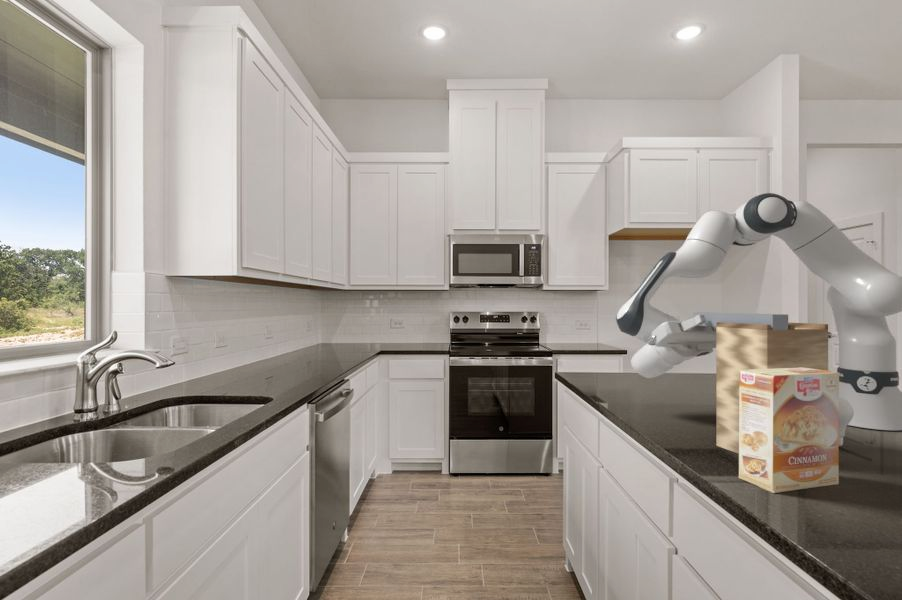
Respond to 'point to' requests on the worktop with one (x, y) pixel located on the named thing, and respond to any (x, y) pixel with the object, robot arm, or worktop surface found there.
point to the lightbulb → (844, 417)
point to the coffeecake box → (789, 428)
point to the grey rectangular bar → (746, 319)
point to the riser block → (759, 363)
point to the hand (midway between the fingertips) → (716, 317)
